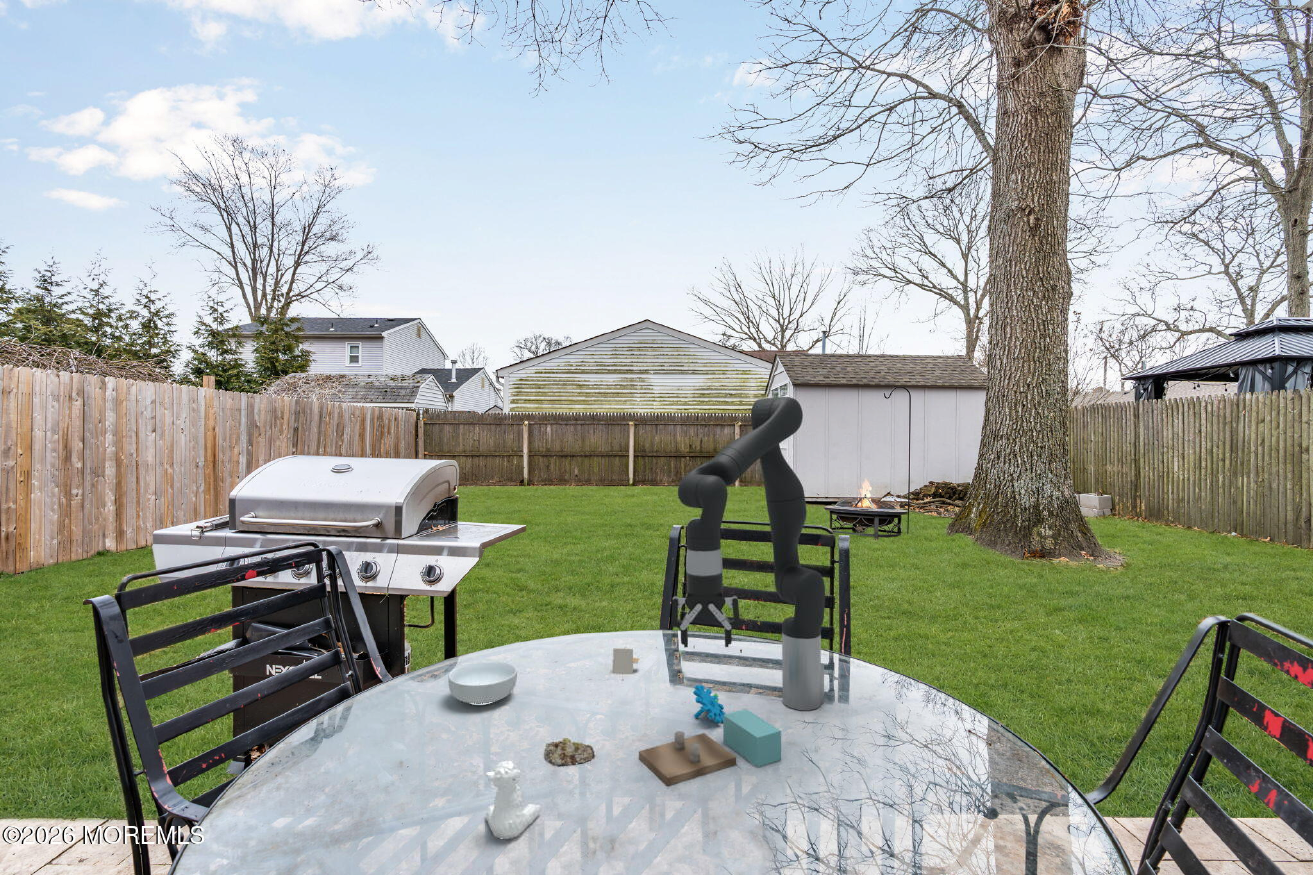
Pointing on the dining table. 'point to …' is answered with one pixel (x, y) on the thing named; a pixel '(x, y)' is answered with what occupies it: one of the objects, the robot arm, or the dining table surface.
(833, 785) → the dining table surface
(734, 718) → the teal rectangular block
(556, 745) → the mineral rock
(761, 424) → the robot arm
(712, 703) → the blue lumpy branched piece
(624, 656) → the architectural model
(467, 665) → the cereal bowl
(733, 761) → the base plate
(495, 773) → the white creature statuette
